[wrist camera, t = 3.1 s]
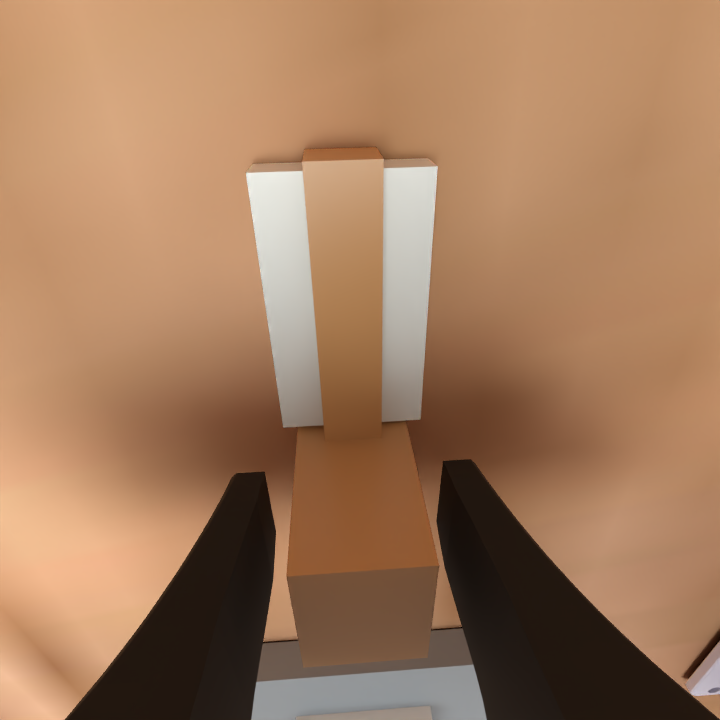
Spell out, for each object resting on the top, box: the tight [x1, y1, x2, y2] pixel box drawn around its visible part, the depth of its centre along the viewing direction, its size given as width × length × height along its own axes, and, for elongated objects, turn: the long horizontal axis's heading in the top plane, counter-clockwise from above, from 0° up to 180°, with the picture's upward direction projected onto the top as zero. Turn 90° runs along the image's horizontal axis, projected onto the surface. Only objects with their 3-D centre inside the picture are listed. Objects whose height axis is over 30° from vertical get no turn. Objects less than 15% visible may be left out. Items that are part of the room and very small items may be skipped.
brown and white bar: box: [246, 147, 439, 668], centre depth 10 cm, size 3×14×4 cm, turn 1°
